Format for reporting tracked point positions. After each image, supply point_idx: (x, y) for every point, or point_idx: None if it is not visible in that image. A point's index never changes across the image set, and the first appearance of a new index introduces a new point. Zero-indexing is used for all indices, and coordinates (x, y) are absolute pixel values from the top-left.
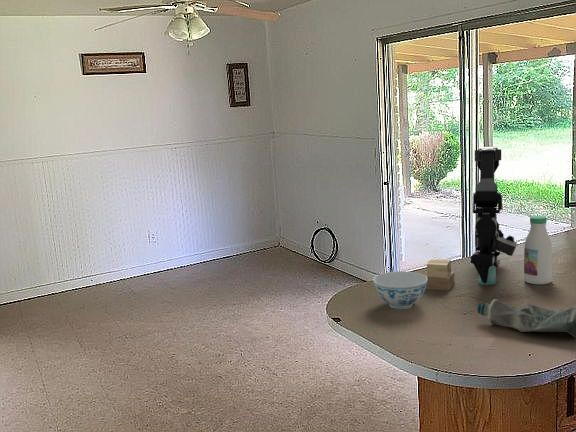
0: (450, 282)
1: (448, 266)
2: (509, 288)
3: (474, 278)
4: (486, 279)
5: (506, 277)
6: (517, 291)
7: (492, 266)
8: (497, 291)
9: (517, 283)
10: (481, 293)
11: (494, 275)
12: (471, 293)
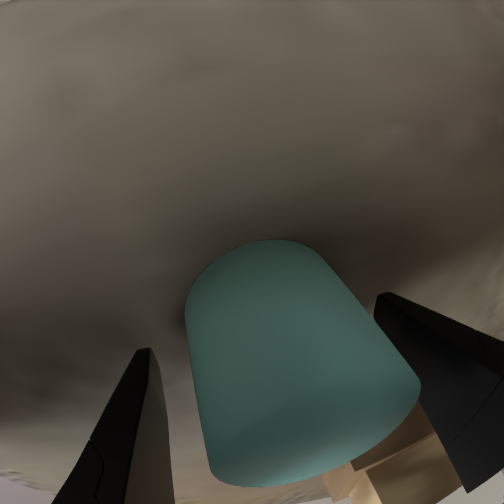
0: (420, 408)
1: (444, 478)
2: (387, 73)
3: (191, 403)
4: (415, 307)
5: (7, 214)
6: (434, 11)
7: (286, 427)
8: (460, 162)
9: (180, 14)
10: (482, 244)
11: (329, 295)
12: (476, 286)
